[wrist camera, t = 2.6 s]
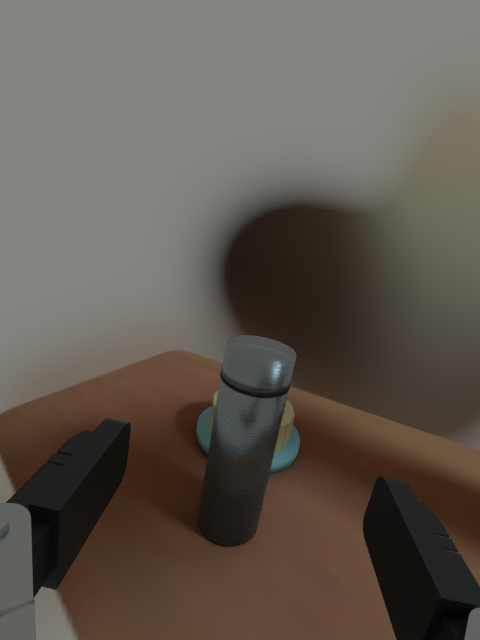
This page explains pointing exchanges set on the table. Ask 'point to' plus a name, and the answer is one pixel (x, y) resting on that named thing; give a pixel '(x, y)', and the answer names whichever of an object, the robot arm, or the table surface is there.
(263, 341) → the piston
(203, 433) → the ring collar
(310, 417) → the table surface
